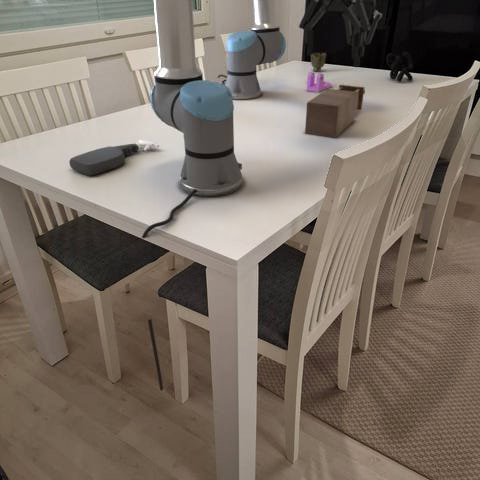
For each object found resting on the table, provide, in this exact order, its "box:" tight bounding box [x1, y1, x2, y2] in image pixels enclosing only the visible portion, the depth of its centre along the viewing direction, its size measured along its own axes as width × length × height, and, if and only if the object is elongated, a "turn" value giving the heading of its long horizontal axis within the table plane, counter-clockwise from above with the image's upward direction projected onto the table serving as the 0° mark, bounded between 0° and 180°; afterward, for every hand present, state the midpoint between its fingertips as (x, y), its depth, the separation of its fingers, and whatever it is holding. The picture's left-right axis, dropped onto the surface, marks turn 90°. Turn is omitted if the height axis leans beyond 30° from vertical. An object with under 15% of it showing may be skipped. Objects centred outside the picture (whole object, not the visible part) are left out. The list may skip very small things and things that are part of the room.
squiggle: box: [385, 51, 414, 83], centre depth 198 cm, size 11×10×15 cm
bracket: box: [306, 71, 332, 93], centre depth 188 cm, size 13×6×7 cm, turn 143°
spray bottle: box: [68, 139, 160, 177], centre depth 124 cm, size 3×11×24 cm
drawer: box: [336, 84, 366, 112], centre depth 155 cm, size 24×9×8 cm, turn 151°
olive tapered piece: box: [310, 52, 327, 72], centre depth 217 cm, size 8×7×8 cm
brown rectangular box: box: [304, 88, 357, 139], centre depth 144 cm, size 19×10×10 cm, turn 151°
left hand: (331, 56), depth 130 cm, fingers open, 13 cm apart
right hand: (356, 66), depth 156 cm, fingers closed
